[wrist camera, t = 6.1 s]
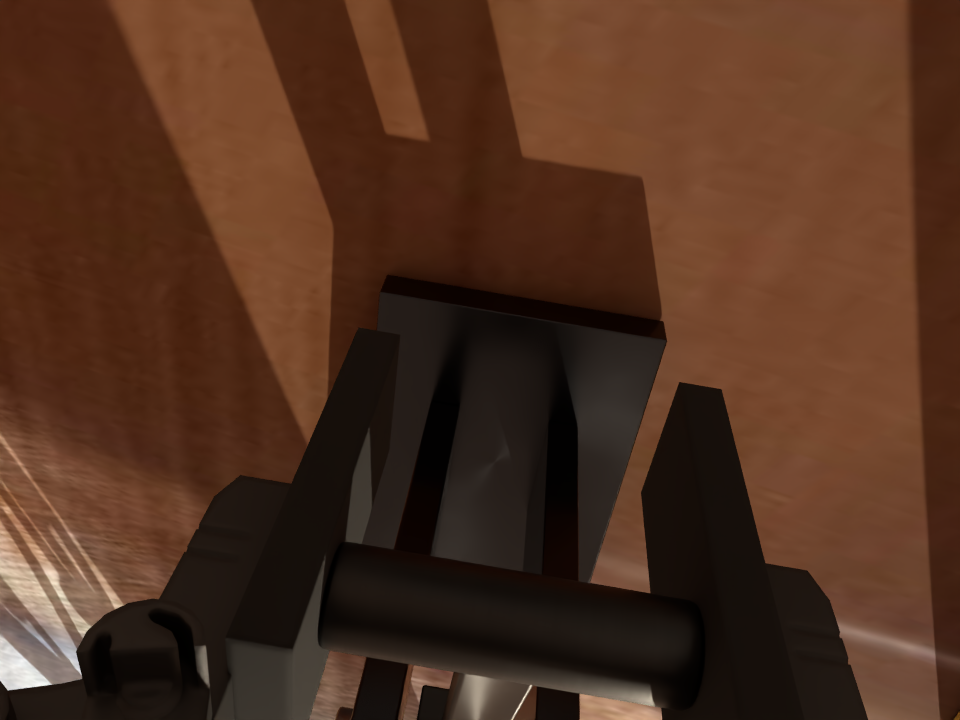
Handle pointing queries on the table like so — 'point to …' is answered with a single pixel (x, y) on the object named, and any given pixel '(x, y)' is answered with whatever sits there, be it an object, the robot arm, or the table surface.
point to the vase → (959, 718)
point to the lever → (509, 632)
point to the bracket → (504, 444)
